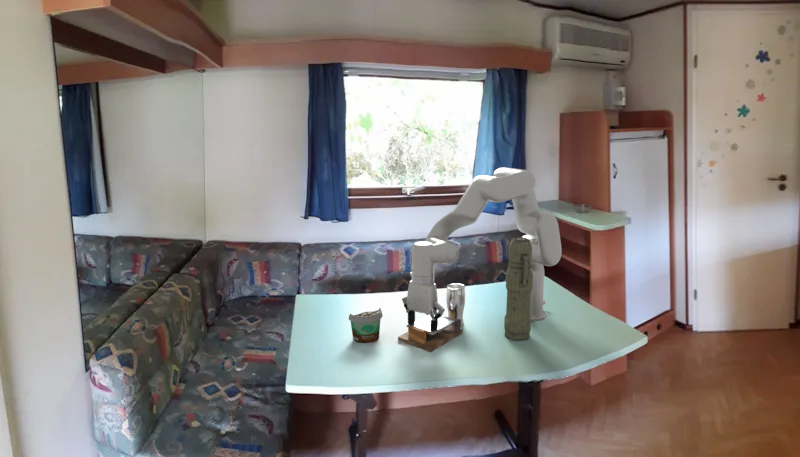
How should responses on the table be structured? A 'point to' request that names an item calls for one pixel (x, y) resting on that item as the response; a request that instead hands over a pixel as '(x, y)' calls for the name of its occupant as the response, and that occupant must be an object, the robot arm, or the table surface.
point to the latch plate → (434, 342)
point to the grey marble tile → (425, 321)
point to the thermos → (518, 290)
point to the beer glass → (455, 301)
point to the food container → (366, 326)
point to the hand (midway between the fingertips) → (422, 326)
